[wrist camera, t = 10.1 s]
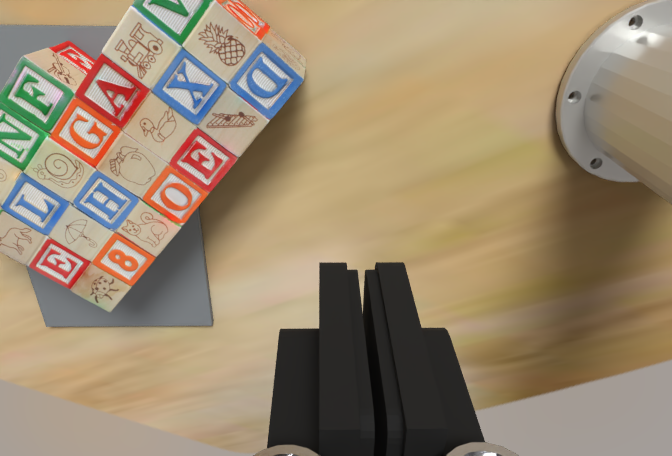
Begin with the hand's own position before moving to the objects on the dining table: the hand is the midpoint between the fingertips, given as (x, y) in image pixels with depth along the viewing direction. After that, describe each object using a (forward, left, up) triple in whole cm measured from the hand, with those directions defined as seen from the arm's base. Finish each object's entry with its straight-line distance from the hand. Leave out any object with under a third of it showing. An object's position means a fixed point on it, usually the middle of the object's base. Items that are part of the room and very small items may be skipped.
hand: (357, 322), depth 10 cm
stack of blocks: (+8, +8, -23) cm, 26 cm away
